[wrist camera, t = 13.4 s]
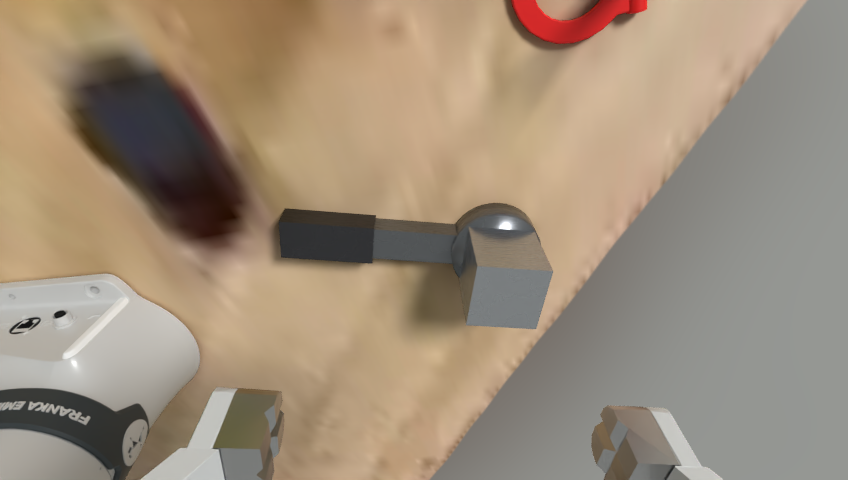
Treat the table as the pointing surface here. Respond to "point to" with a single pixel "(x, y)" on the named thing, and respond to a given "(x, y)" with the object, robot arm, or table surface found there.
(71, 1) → the table surface
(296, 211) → the ratchet
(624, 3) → the tow hook
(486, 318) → the grey wooden cube
